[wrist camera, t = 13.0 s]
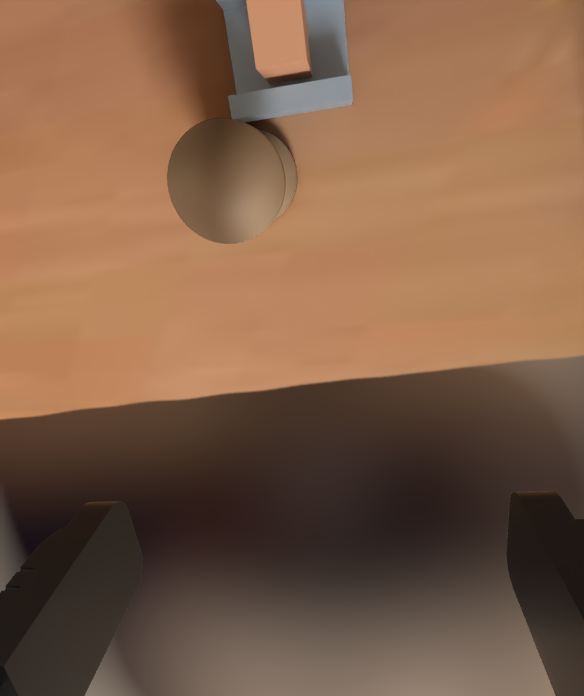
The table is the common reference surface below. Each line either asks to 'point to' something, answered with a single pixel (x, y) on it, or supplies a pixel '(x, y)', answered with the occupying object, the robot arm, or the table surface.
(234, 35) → the grey channel bracket
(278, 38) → the tan rectangular block
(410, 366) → the table surface
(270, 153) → the bobbin
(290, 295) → the table surface
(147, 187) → the table surface
